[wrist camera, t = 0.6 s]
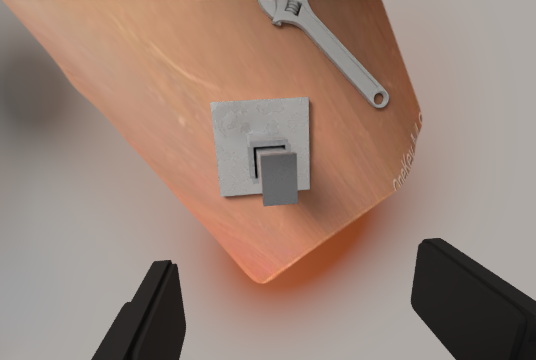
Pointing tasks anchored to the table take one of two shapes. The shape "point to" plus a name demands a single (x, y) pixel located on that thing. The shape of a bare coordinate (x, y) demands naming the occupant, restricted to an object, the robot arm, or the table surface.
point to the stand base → (258, 139)
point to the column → (276, 175)
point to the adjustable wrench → (325, 44)
